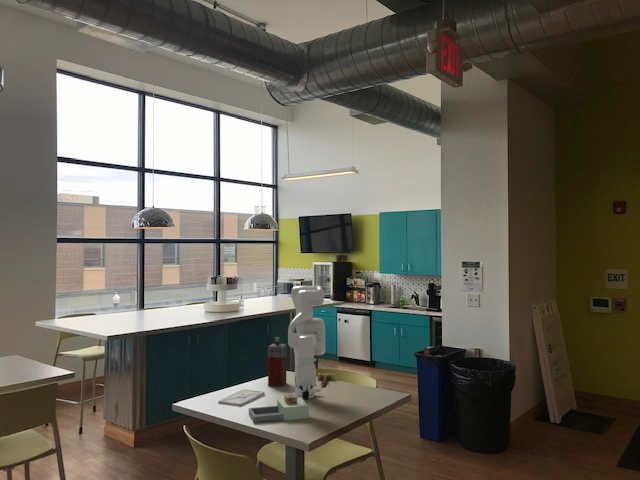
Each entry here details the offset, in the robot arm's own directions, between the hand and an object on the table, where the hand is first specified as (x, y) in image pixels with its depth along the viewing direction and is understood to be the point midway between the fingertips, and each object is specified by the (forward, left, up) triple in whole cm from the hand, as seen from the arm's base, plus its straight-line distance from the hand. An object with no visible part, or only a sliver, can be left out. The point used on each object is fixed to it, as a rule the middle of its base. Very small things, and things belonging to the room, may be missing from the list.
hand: (305, 399), depth 251 cm
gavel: (-27, -56, -8) cm, 62 cm away
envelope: (+25, -35, -8) cm, 44 cm away
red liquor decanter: (+1, -61, -7) cm, 62 cm away
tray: (+19, 0, -7) cm, 21 cm away
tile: (+7, 0, -1) cm, 8 cm away
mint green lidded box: (+6, 0, -7) cm, 9 cm away
